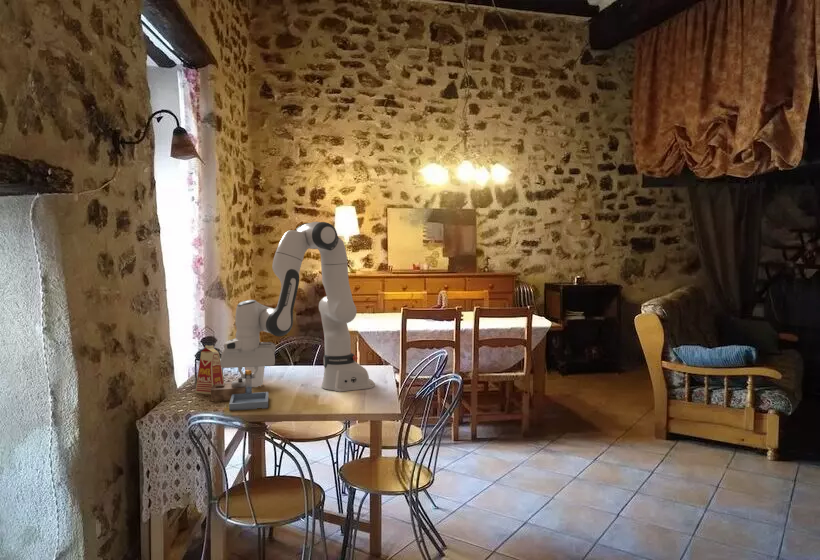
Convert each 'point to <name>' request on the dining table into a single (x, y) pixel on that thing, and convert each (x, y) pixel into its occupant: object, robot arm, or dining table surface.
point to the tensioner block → (227, 390)
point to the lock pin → (248, 382)
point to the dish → (249, 401)
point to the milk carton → (209, 370)
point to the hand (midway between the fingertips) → (248, 378)
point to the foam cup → (257, 376)
